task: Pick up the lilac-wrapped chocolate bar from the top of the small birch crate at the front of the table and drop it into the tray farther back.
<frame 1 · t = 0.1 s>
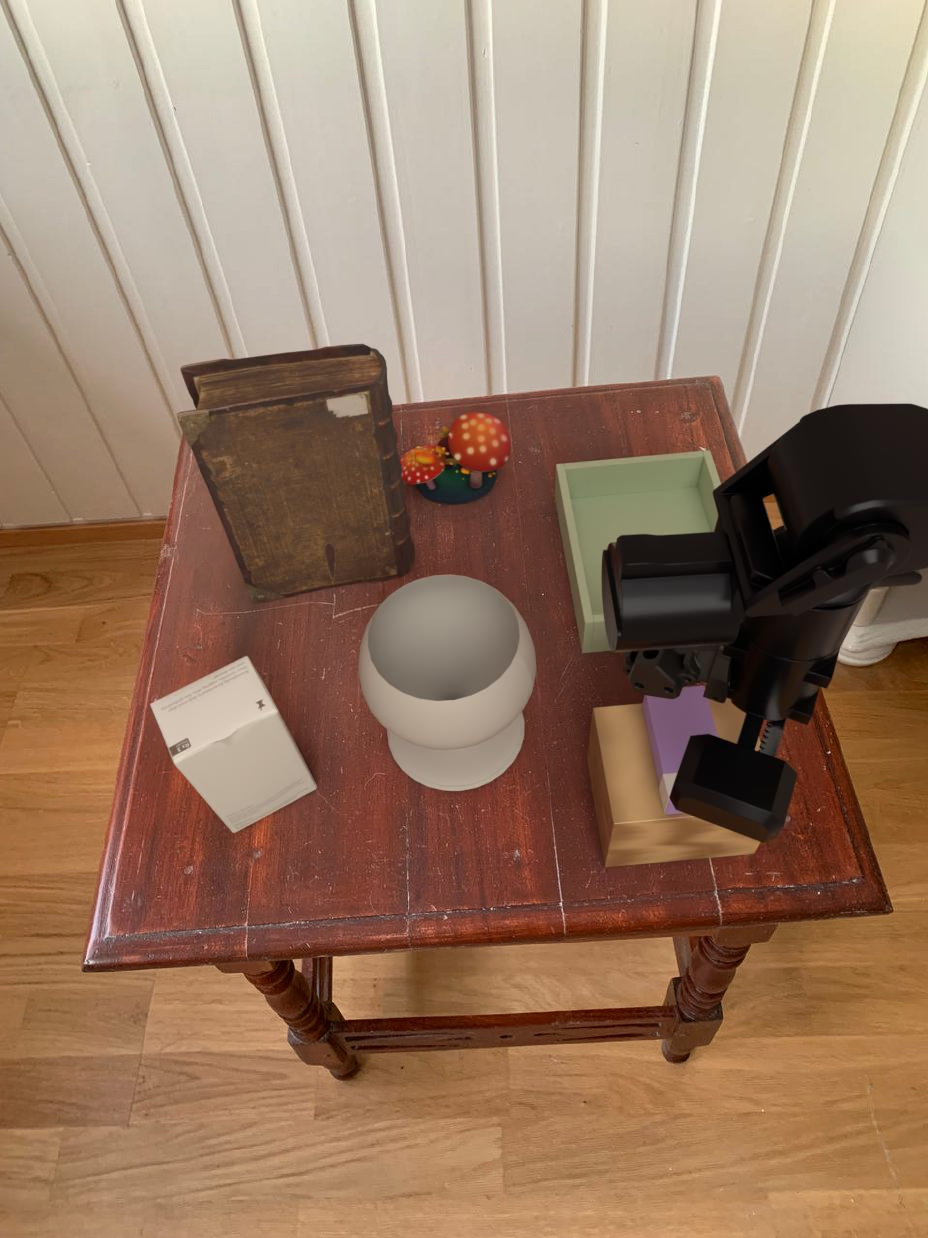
hand: (737, 748, 62), 14 cm above the table, tool pointing down, fingers open, 9 cm apart
tray: (645, 563, 89), on the table
chocolate bar: (682, 755, 67), point 9 cm above the table, touching crate
crate: (667, 804, 75), on the table
figurine: (455, 475, 98), on the table
book: (334, 573, 91), on the table
chalice: (456, 730, 80), on the table
cosmetic box: (262, 789, 78), on the table
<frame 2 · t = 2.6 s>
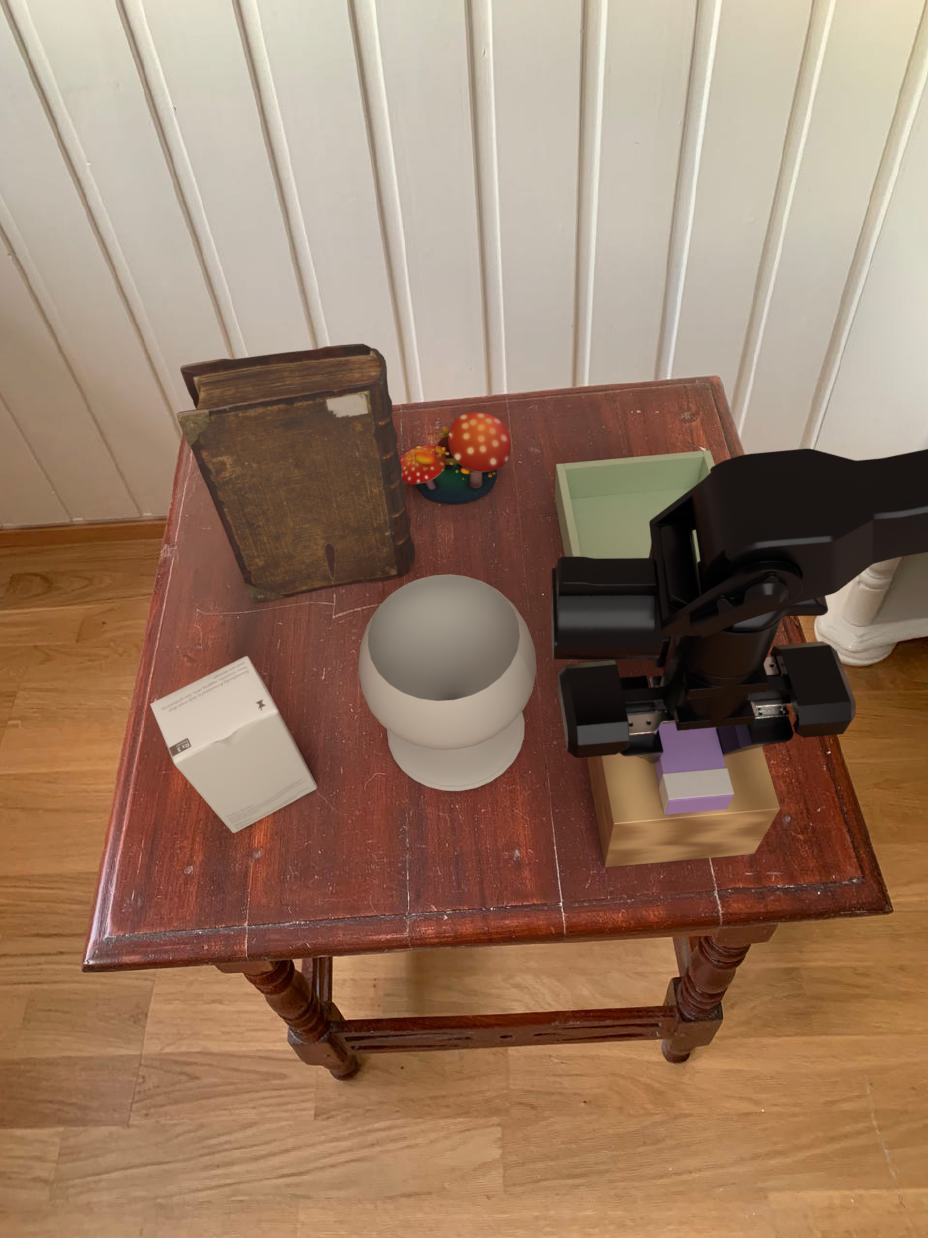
hand: (683, 754, 67), 9 cm above the table, tool pointing down, fingers closed on chocolate bar, 4 cm apart
chocolate bar: (682, 755, 67), point 9 cm above the table, touching crate, gripper
everything else where it was.
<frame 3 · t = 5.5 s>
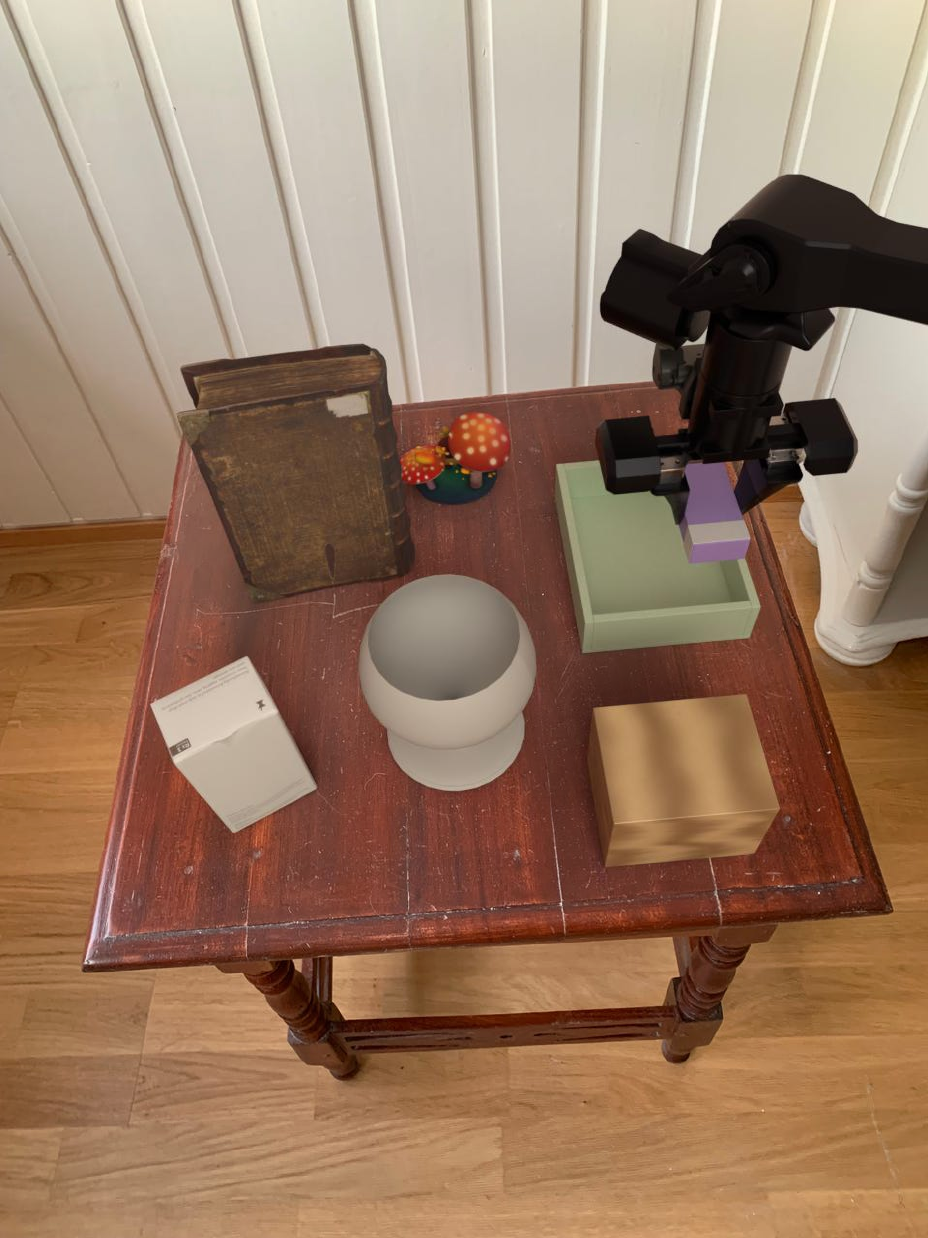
hand: (705, 518, 76), 13 cm above the table, tool pointing down, fingers closed on chocolate bar, 4 cm apart
chocolate bar: (704, 520, 76), point 12 cm above the table, touching gripper
everything else where it was.
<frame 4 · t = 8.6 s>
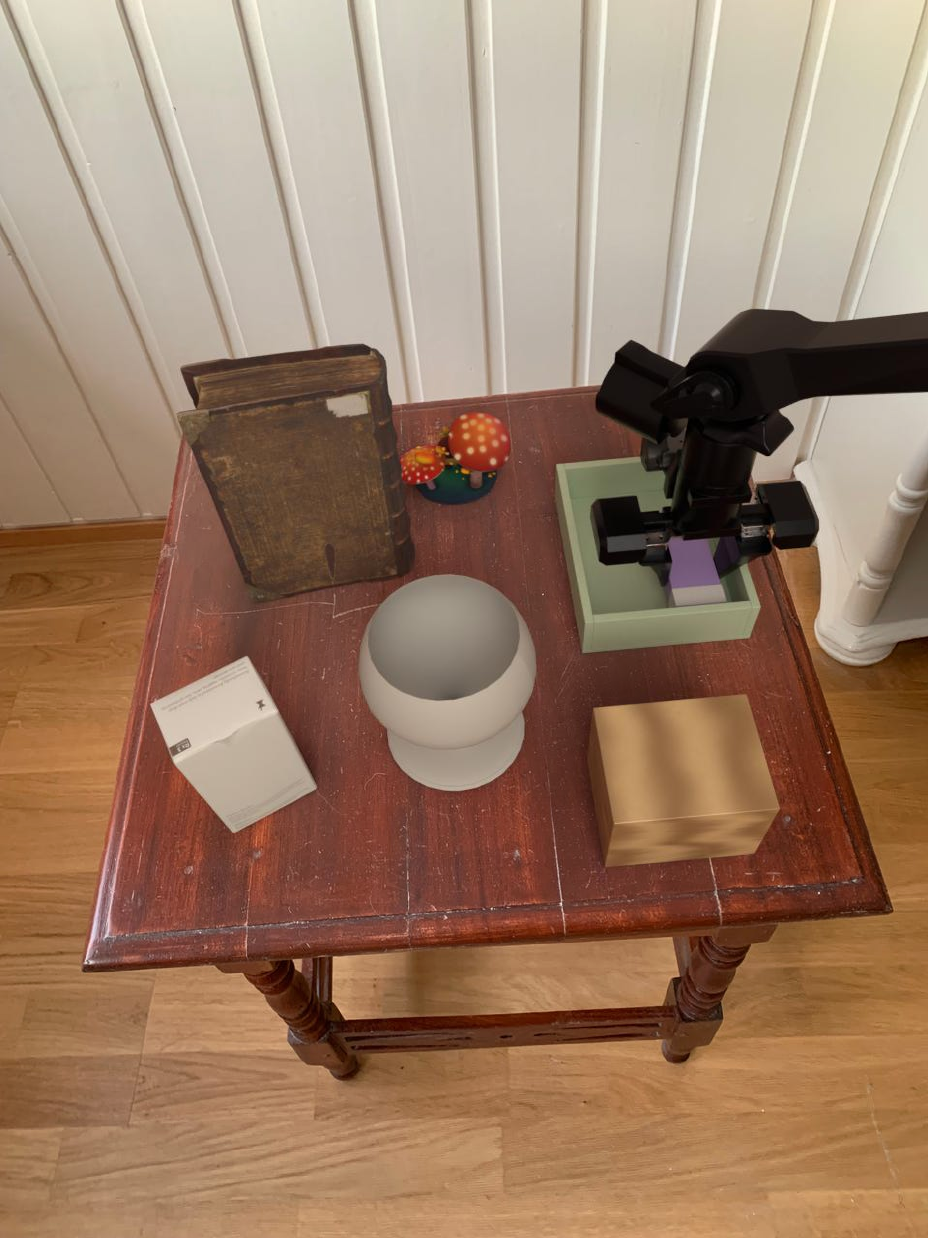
hand: (687, 580, 85), 2 cm above the table, tool pointing down, fingers closed on chocolate bar, 4 cm apart
chocolate bar: (686, 581, 85), point 2 cm above the table, touching gripper
everything else where it was.
when the fingers open (2 cm above the table, at t = 8.7 s): chocolate bar drops 1 cm, resting on tray.
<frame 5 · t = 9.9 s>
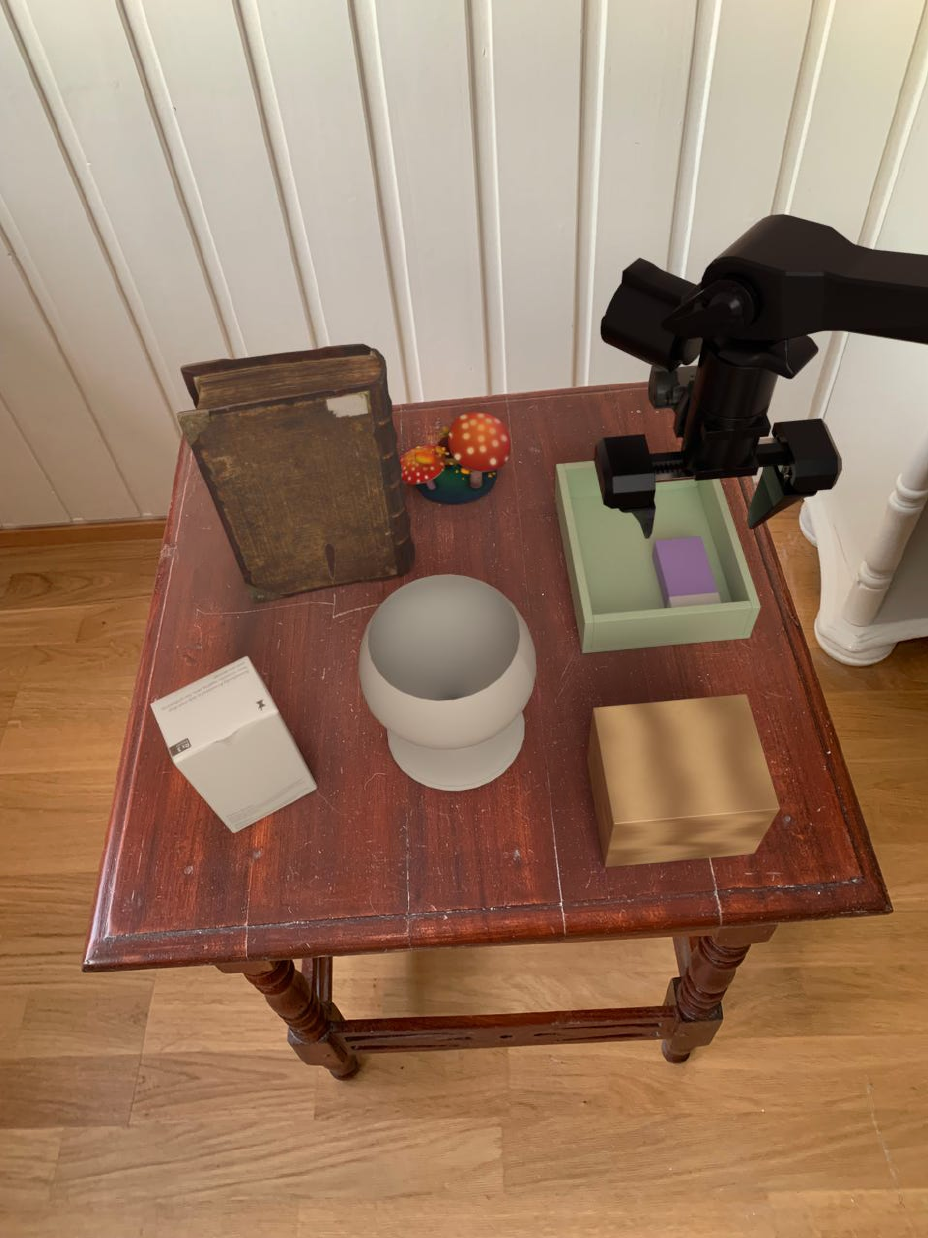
hand: (697, 530, 79), 9 cm above the table, tool pointing down, fingers open, 9 cm apart
chocolate bar: (684, 589, 86), point 1 cm above the table, touching tray
everything else where it was.
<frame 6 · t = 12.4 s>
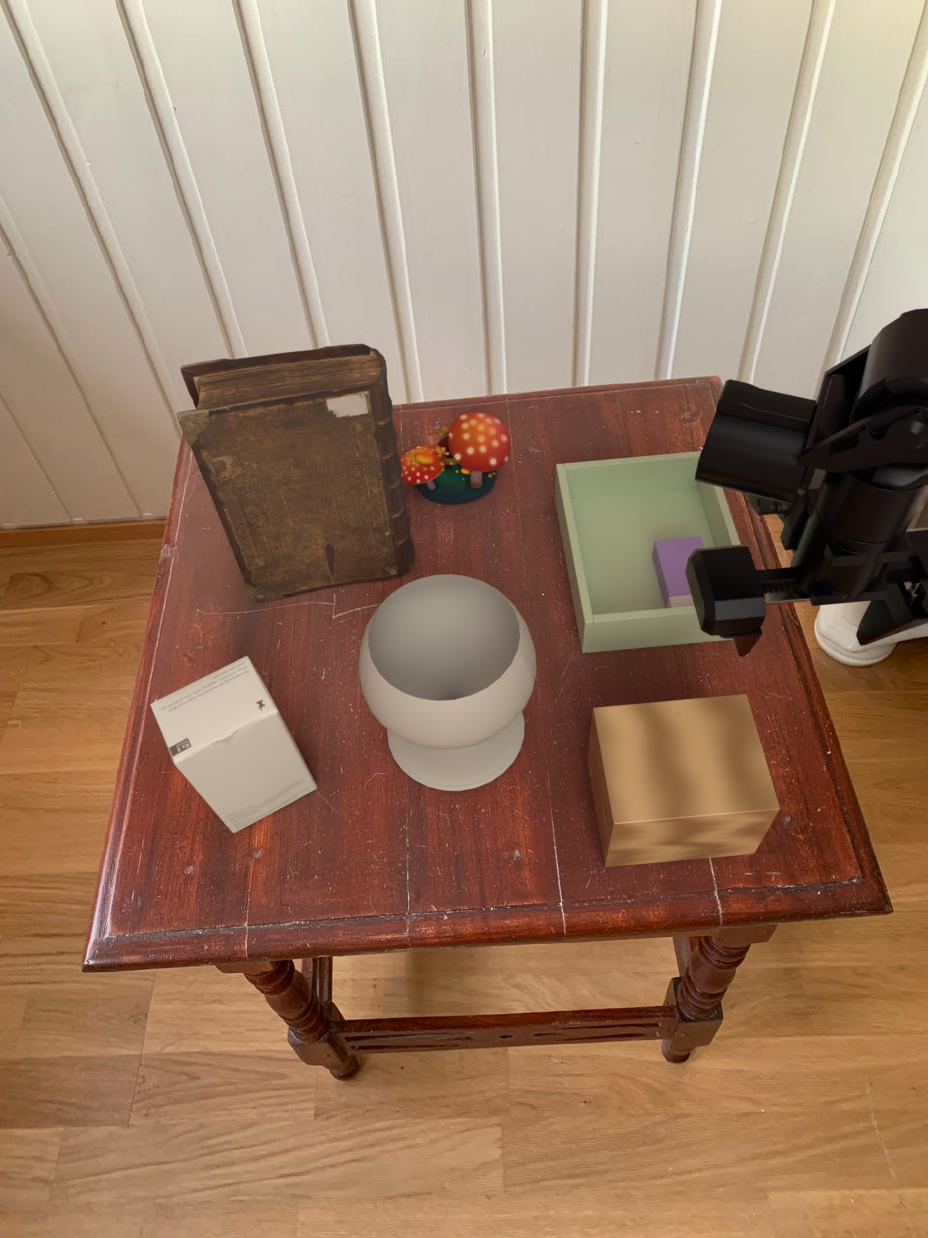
hand: (800, 645, 69), 12 cm above the table, tool pointing down, fingers open, 9 cm apart
nothing on the table moved.
at the end: chocolate bar inside the target area in the tray (4.9 cm from its centre), point 0.5 cm above the tray's base; the gripper is holding nothing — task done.
